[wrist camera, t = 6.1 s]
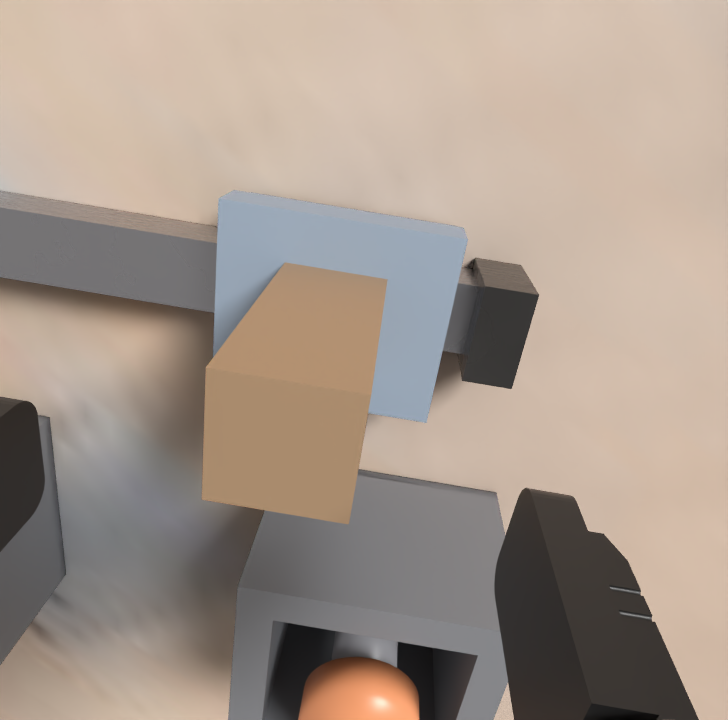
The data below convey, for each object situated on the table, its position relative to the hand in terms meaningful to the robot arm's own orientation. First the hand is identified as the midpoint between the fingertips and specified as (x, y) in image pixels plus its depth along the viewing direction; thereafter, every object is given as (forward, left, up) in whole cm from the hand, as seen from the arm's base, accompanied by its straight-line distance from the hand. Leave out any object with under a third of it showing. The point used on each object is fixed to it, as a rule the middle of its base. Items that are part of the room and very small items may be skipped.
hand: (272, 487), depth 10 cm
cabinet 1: (-13, -3, -12) cm, 18 cm away
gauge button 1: (-13, -3, -12) cm, 17 cm away
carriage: (0, 0, -12) cm, 12 cm away
